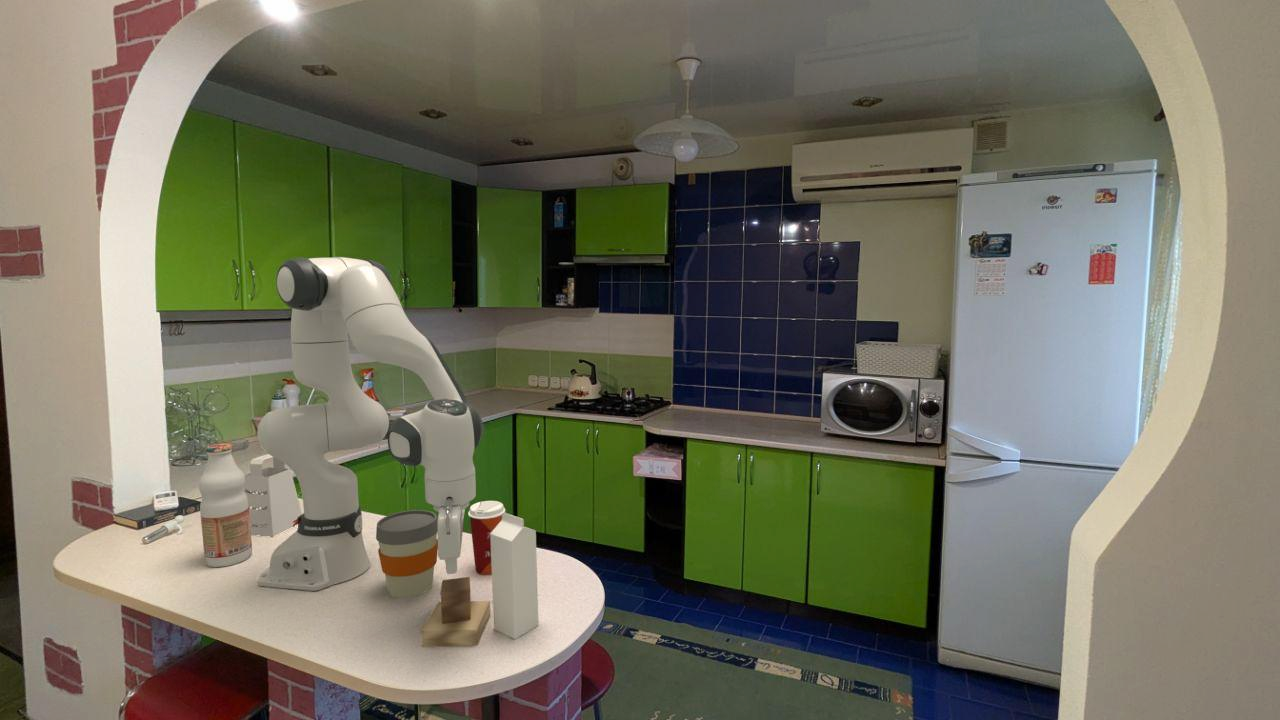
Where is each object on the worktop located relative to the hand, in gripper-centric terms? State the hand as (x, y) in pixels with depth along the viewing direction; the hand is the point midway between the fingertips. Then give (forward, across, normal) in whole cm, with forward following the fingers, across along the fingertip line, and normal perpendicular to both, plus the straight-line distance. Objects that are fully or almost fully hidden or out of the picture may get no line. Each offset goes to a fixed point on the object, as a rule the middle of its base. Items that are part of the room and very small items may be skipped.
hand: (453, 559), depth 110 cm
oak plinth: (+14, -1, 0) cm, 14 cm away
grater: (+16, +64, +51) cm, 83 cm away
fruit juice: (+16, +45, +54) cm, 72 cm away
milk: (+14, -3, -11) cm, 18 cm away
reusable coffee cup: (+15, +19, +10) cm, 26 cm away
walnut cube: (+11, -1, 0) cm, 11 cm away
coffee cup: (+14, +23, -6) cm, 28 cm away
